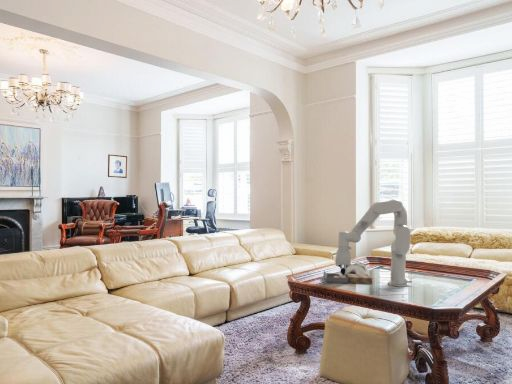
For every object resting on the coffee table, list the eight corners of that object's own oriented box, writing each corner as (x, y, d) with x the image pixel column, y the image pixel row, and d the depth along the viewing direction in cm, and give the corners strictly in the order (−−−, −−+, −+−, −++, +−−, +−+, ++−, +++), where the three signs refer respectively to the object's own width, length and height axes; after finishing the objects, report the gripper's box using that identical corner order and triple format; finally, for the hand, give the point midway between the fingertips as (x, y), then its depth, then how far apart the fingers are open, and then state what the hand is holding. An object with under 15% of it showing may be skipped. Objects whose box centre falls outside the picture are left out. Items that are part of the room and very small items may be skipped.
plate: (367, 280, 278) (367, 274, 278) (372, 283, 266) (372, 278, 266) (345, 279, 278) (345, 273, 278) (349, 282, 266) (349, 277, 266)
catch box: (343, 278, 279) (344, 271, 279) (348, 283, 265) (348, 275, 265) (323, 277, 280) (323, 270, 280) (326, 282, 266) (326, 275, 266)
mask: (372, 260, 310) (365, 266, 284) (372, 271, 310) (364, 279, 284) (348, 258, 319) (339, 263, 293) (348, 268, 320) (338, 275, 293)
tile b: (333, 276, 275) (333, 278, 275) (335, 277, 269) (335, 280, 269) (340, 276, 275) (339, 279, 275) (341, 278, 269) (341, 280, 269)
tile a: (340, 272, 275) (338, 274, 275) (342, 274, 269) (340, 276, 269) (344, 277, 275) (342, 279, 275) (346, 279, 269) (344, 280, 269)
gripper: (352, 248, 276) (352, 273, 276) (332, 247, 276) (331, 272, 276) (355, 249, 269) (354, 275, 268) (334, 249, 269) (333, 275, 269)
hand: (342, 274), depth 272 cm, fingers closed
